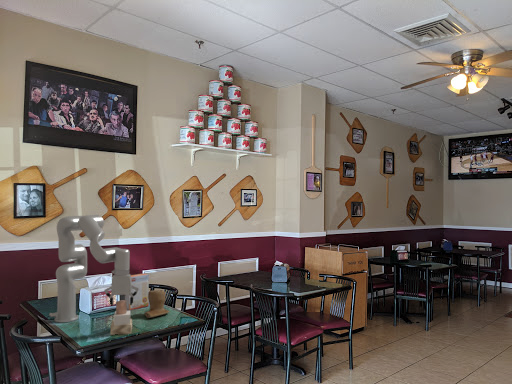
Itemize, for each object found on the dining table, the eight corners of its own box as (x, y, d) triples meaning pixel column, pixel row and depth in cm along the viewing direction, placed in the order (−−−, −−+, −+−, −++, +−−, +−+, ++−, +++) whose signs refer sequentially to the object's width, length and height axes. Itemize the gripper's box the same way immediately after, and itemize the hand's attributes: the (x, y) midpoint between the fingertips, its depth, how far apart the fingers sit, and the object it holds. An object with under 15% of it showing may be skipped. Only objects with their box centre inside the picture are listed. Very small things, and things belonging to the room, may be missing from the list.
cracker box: (144, 304, 269) (144, 272, 269) (148, 306, 265) (149, 274, 265) (124, 308, 259) (124, 275, 259) (129, 310, 255) (129, 277, 255)
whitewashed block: (114, 325, 210) (114, 315, 210) (114, 321, 218) (114, 311, 218) (130, 324, 213) (130, 314, 213) (130, 319, 220) (130, 310, 220)
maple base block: (110, 335, 210) (110, 325, 210) (112, 329, 220) (112, 320, 220) (130, 334, 212) (130, 324, 212) (132, 328, 222) (132, 319, 222)
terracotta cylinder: (115, 314, 212) (115, 303, 212) (116, 312, 217) (116, 300, 217) (126, 313, 213) (126, 302, 214) (127, 311, 219) (126, 299, 219)
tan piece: (159, 310, 255) (159, 286, 255) (171, 314, 247) (172, 289, 247) (138, 316, 243) (139, 291, 243) (151, 320, 235) (151, 294, 236)
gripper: (103, 274, 211) (103, 307, 211) (138, 273, 215) (138, 306, 214) (105, 271, 218) (105, 303, 218) (139, 270, 222) (138, 302, 222)
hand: (121, 304), depth 216 cm, fingers open, 9 cm apart
